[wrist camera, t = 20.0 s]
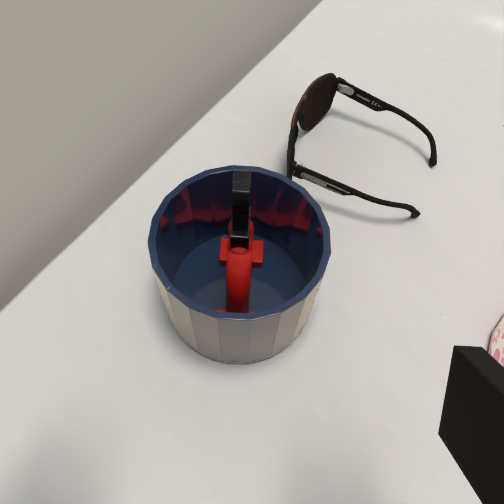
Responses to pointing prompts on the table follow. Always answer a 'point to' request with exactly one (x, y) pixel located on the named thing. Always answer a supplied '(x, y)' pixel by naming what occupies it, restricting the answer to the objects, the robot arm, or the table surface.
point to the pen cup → (262, 279)
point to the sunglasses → (314, 110)
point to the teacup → (498, 343)
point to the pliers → (240, 247)
